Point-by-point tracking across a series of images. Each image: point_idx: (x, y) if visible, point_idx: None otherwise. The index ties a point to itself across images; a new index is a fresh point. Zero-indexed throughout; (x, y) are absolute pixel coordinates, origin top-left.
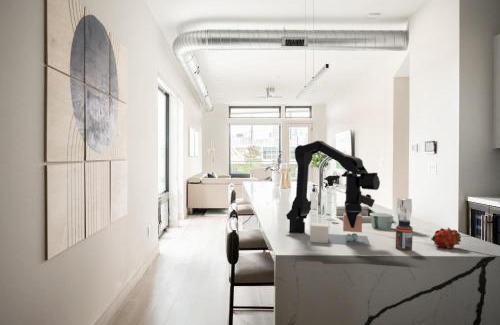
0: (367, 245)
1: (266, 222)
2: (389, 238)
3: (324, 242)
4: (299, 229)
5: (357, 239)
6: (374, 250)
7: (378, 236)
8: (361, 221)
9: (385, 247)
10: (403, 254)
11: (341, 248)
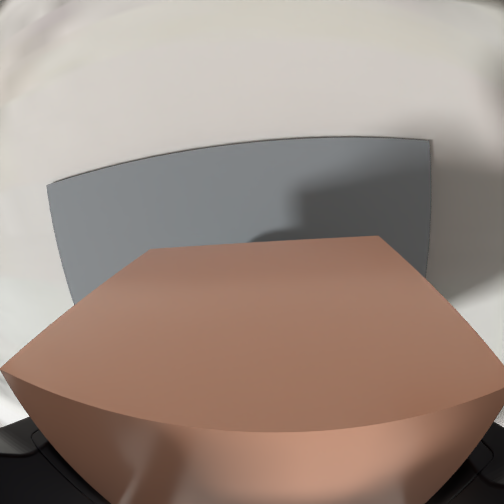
0: (413, 164)
1: None
2: (51, 51)
3: None
4: None
5: (185, 245)
6: (494, 133)
7: (20, 123)
8: (445, 312)
9: (381, 34)
10: (495, 7)
11: (476, 328)
